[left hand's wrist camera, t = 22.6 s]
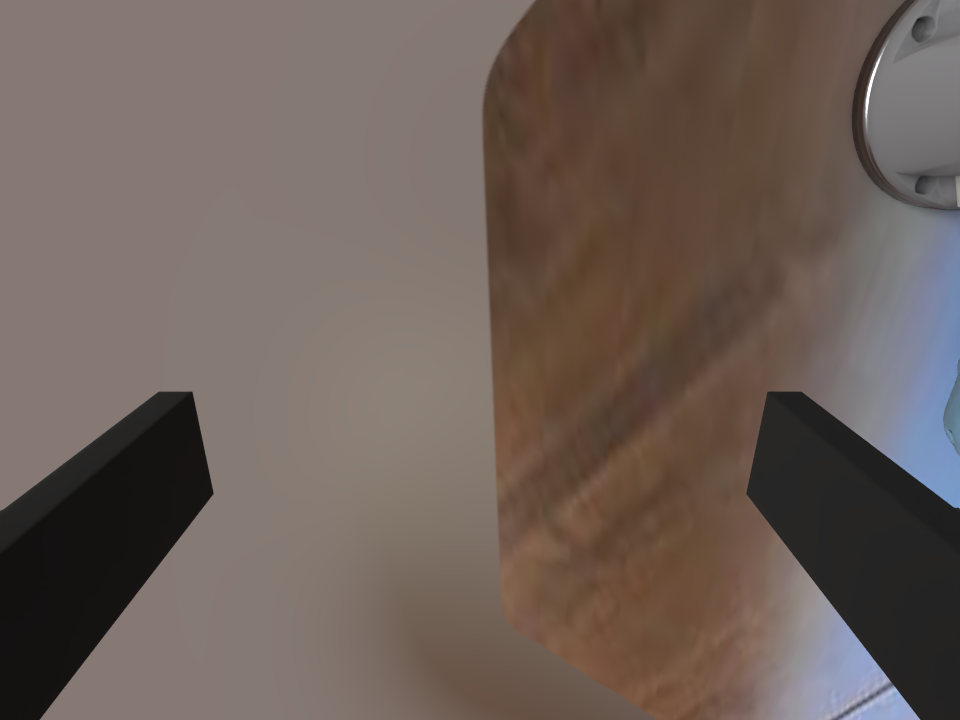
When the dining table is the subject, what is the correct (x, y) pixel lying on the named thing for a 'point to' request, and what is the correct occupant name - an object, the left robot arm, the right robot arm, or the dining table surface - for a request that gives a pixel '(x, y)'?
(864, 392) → the dining table surface
